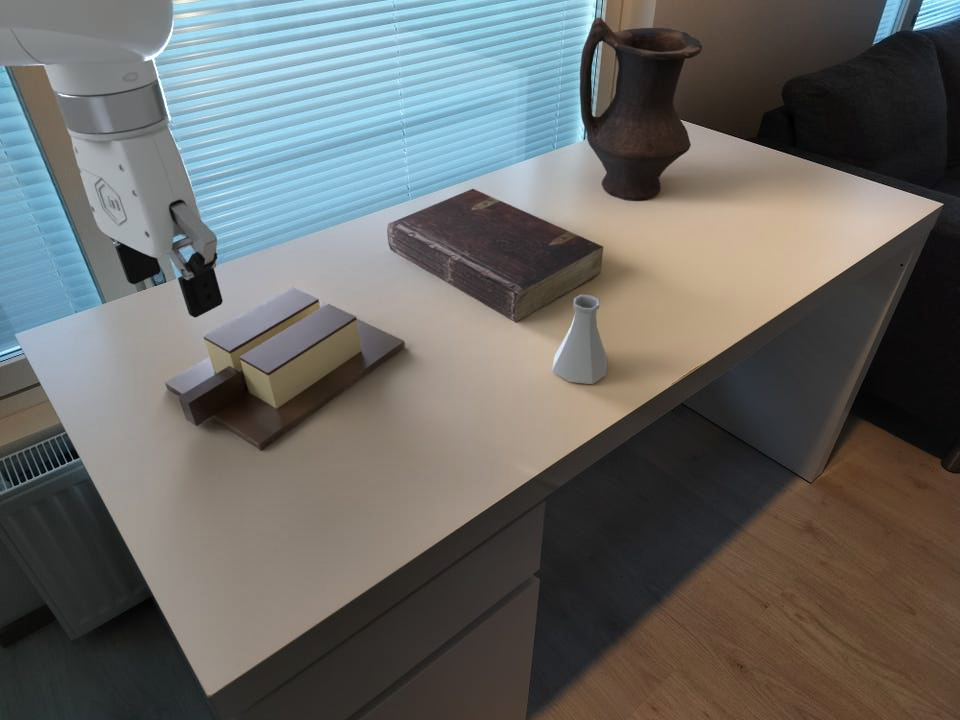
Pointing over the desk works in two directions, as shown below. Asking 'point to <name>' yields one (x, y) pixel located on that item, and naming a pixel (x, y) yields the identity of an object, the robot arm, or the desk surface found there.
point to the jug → (637, 107)
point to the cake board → (269, 423)
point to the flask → (582, 346)
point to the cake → (285, 345)
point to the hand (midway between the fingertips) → (175, 293)
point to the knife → (213, 395)
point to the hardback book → (496, 252)
